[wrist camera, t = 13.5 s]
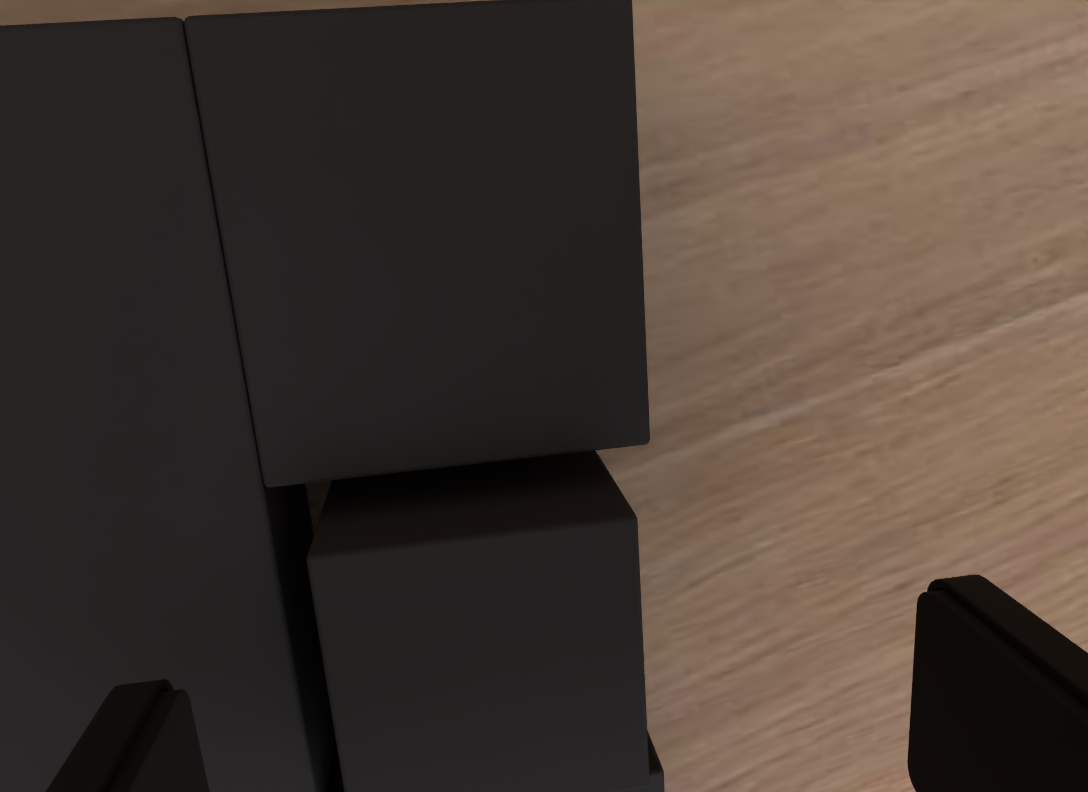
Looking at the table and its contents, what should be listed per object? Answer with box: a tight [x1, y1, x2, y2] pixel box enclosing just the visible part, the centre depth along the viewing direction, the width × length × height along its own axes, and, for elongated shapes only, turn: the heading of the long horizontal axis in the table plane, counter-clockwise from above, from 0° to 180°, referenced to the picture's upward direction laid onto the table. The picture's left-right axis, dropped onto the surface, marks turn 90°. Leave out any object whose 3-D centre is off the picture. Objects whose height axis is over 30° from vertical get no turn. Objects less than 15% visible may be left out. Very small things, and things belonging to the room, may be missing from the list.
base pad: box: [0, 0, 664, 792], centre depth 13 cm, size 18×18×3 cm
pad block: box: [306, 450, 649, 792], centre depth 13 cm, size 4×4×4 cm
